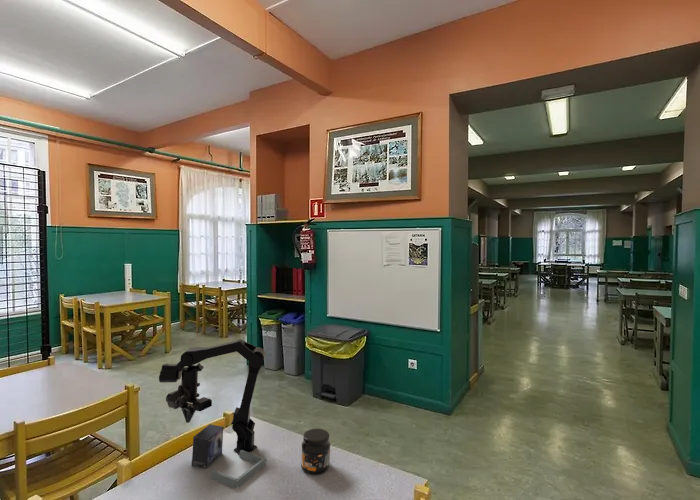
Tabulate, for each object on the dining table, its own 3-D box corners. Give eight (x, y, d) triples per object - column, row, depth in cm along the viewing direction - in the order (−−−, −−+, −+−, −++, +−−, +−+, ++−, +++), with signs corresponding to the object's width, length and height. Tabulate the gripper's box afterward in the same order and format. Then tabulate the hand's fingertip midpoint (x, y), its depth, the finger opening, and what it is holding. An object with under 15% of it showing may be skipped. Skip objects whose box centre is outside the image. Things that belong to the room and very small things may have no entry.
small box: (207, 469, 128) (208, 439, 128) (190, 466, 129) (191, 437, 129) (223, 453, 138) (224, 425, 138) (208, 450, 140) (209, 423, 140)
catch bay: (241, 456, 136) (241, 449, 136) (265, 465, 132) (266, 458, 132) (210, 478, 123) (211, 470, 123) (236, 488, 118) (237, 481, 118)
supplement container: (294, 468, 130) (295, 435, 130) (314, 456, 139) (315, 424, 139) (316, 480, 124) (317, 445, 124) (335, 466, 132) (336, 433, 132)
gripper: (154, 383, 135) (152, 425, 135) (189, 393, 127) (187, 438, 127) (179, 375, 145) (177, 413, 145) (213, 383, 137) (212, 424, 137)
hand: (187, 422), depth 138 cm, fingers closed
